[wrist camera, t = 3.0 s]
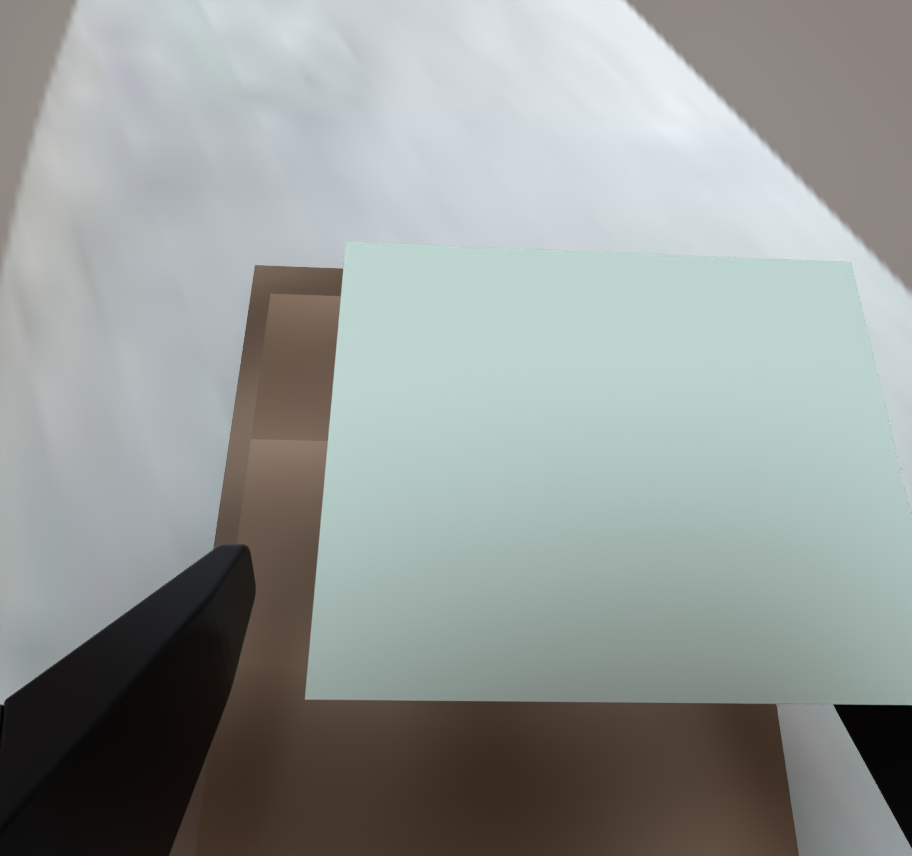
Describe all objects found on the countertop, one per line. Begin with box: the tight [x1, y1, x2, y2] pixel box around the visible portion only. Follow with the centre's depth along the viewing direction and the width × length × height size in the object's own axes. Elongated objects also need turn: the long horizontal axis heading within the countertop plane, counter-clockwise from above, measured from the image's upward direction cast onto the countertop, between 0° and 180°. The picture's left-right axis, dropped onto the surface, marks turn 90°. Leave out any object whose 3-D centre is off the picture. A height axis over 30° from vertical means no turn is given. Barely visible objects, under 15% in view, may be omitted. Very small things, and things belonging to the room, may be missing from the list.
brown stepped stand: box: [169, 265, 799, 856], centre depth 15 cm, size 20×16×5 cm
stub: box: [305, 241, 912, 705], centre depth 11 cm, size 4×5×12 cm
